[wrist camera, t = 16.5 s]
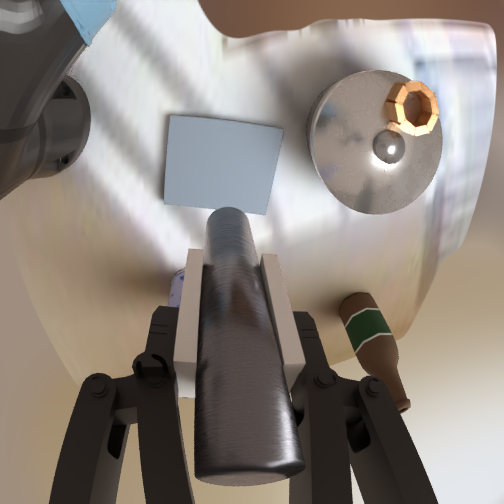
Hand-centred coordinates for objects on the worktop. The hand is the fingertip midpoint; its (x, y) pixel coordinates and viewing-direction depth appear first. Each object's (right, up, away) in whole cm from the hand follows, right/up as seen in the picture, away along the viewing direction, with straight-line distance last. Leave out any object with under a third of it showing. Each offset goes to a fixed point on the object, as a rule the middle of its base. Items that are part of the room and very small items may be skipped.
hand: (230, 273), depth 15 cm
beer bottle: (+22, -9, +38) cm, 44 cm away
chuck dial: (+17, +14, +15) cm, 26 cm away
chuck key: (-1, +3, +5) cm, 6 cm away
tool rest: (-3, +13, +21) cm, 24 cm away
